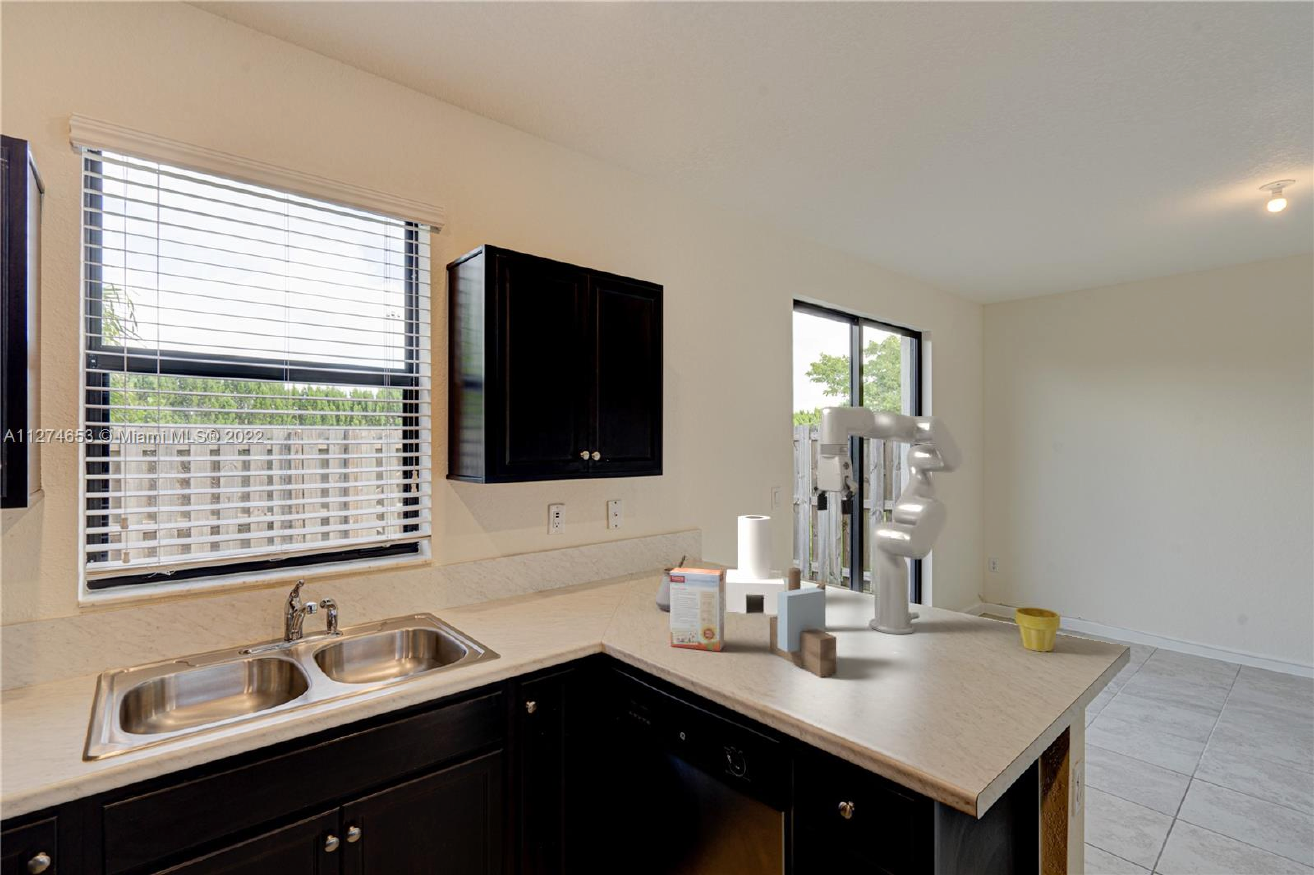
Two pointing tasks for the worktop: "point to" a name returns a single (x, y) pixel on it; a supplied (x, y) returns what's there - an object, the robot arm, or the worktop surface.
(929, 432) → the robot arm
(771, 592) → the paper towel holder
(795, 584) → the wooden block structure
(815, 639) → the walnut crosspiece
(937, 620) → the worktop surface
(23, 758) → the worktop surface
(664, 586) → the coffee pot
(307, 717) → the worktop surface
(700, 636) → the cracker box
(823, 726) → the worktop surface
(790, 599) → the pale blue tall box
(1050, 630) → the plant pot
